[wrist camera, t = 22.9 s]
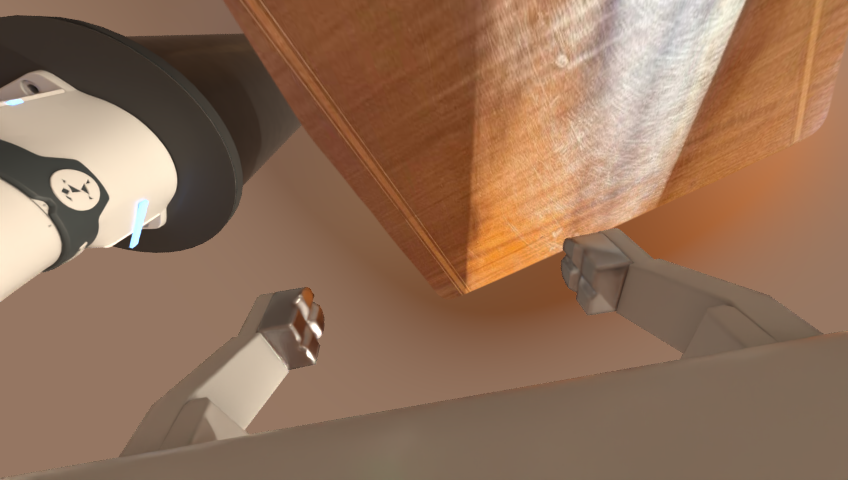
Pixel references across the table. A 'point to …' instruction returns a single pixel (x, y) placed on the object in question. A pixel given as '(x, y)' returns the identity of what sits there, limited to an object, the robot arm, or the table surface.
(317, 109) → the table surface
